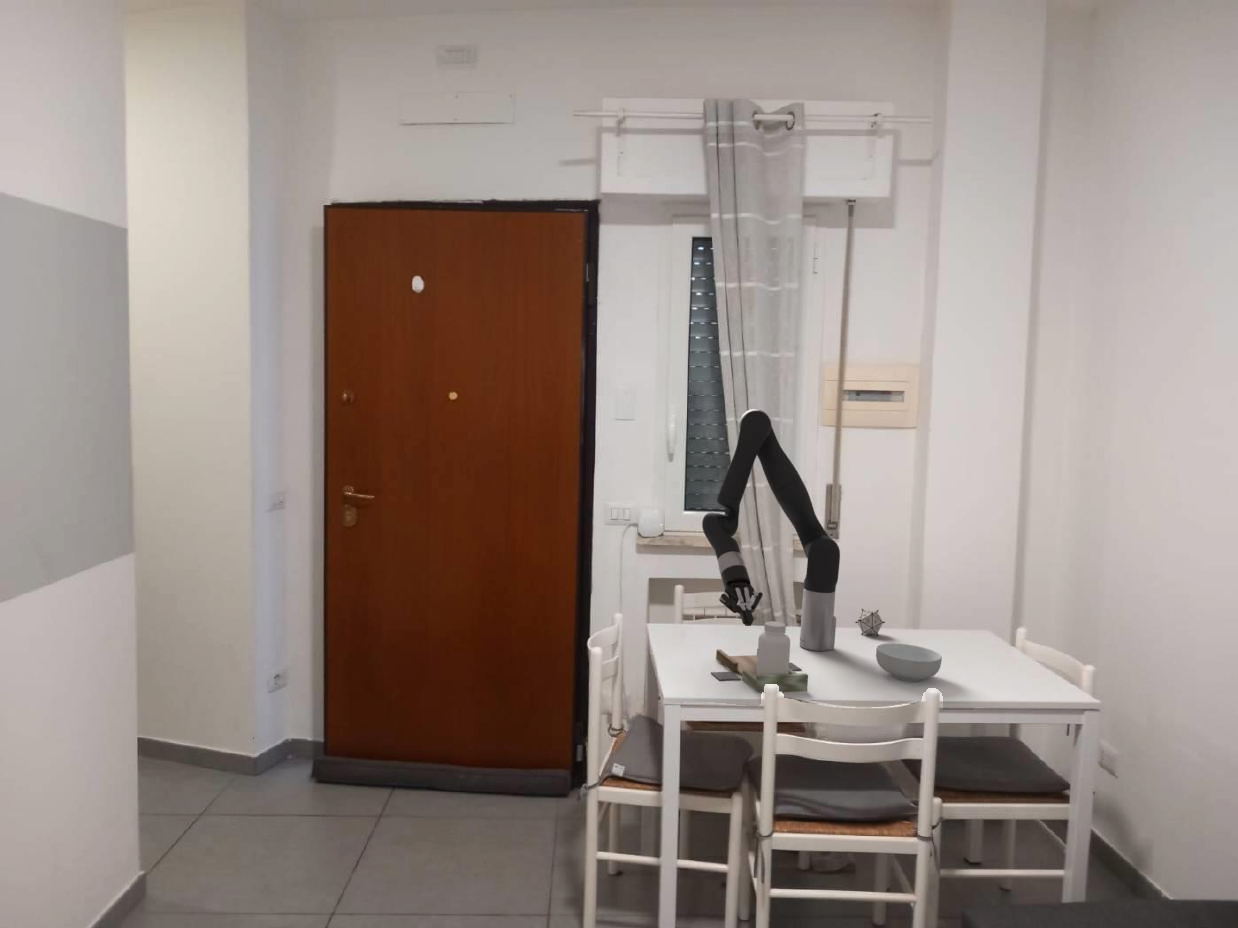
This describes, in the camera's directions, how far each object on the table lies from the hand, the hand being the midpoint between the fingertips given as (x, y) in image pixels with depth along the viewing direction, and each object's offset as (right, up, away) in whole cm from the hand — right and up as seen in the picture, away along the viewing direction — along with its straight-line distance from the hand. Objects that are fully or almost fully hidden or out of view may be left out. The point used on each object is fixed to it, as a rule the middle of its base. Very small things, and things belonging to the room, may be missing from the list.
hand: (749, 624), depth 239 cm
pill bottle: (+3, -12, -17) cm, 21 cm away
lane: (+1, -11, -8) cm, 14 cm away
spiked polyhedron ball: (+44, -11, +39) cm, 59 cm away
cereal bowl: (+42, -14, -4) cm, 44 cm away
